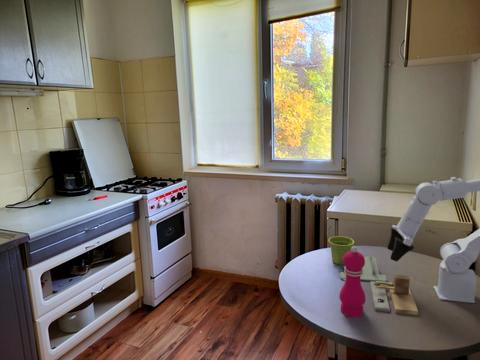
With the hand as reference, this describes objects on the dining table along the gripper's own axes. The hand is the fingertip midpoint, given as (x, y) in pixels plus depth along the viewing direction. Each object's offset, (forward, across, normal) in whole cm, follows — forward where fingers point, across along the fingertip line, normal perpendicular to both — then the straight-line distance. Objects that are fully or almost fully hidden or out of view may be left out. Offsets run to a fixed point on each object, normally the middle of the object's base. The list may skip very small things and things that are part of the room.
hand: (391, 254), depth 113 cm
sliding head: (+9, +6, +4) cm, 11 cm away
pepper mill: (+15, +18, -7) cm, 24 cm away
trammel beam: (+10, +8, +5) cm, 13 cm away
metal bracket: (+14, -8, -4) cm, 17 cm away
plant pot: (+17, -16, -10) cm, 26 cm away
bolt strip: (+12, +8, 0) cm, 14 cm away
